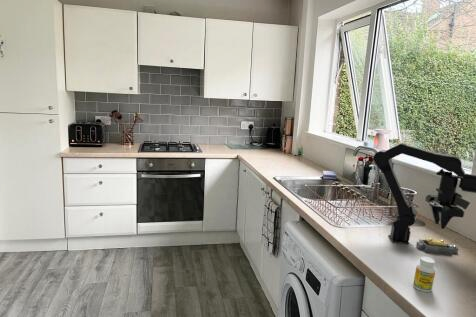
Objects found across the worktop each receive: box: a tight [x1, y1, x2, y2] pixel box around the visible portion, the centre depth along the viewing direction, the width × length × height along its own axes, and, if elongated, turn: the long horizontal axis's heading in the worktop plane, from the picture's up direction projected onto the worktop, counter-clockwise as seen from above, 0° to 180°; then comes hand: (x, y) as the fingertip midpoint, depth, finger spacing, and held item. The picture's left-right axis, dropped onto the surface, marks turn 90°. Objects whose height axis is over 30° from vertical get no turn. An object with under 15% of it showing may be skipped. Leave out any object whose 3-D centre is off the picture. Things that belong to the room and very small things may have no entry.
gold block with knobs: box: [424, 237, 448, 247], centre depth 143 cm, size 7×4×5 cm, turn 85°
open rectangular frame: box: [415, 238, 459, 256], centre depth 143 cm, size 15×6×3 cm, turn 86°
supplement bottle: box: [412, 256, 436, 293], centre depth 112 cm, size 5×5×10 cm
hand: (439, 226), depth 142 cm, fingers open, 5 cm apart
